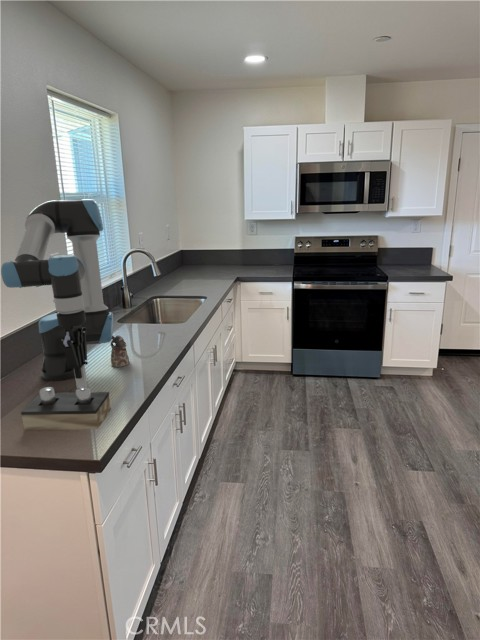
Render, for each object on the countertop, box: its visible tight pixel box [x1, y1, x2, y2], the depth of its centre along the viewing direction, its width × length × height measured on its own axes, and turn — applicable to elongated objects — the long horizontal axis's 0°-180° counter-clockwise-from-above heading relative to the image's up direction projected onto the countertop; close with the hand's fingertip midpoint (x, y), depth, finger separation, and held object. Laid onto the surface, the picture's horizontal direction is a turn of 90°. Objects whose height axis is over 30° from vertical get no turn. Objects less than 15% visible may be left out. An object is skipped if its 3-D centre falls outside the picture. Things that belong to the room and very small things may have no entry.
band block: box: [20, 391, 112, 431], centre depth 131 cm, size 12×22×6 cm, turn 88°
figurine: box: [110, 334, 130, 368], centre depth 172 cm, size 7×7×12 cm
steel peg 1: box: [39, 386, 56, 406], centre depth 130 cm, size 4×4×6 cm
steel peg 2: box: [75, 386, 92, 405], centre depth 129 cm, size 4×4×6 cm
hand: (82, 386), depth 128 cm, fingers closed
